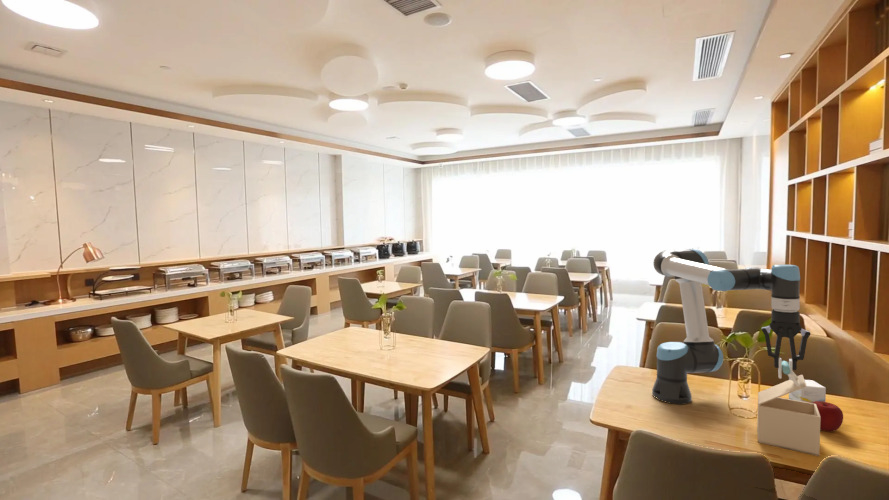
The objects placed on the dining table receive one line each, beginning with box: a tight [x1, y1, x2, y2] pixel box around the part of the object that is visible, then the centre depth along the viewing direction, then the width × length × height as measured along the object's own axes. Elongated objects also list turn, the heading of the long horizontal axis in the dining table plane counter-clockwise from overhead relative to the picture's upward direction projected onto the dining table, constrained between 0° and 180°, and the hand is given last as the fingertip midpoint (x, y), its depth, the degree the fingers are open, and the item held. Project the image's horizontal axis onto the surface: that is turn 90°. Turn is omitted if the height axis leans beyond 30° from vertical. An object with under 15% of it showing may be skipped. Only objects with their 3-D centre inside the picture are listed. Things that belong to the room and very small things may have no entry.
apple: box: [812, 401, 844, 432], centre depth 154 cm, size 10×10×10 cm
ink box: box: [788, 379, 827, 403], centre depth 169 cm, size 9×8×12 cm
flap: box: [757, 360, 807, 405], centre depth 148 cm, size 15×12×7 cm
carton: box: [756, 397, 821, 457], centre depth 147 cm, size 16×12×13 cm
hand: (785, 377), depth 146 cm, fingers open, 2 cm apart
